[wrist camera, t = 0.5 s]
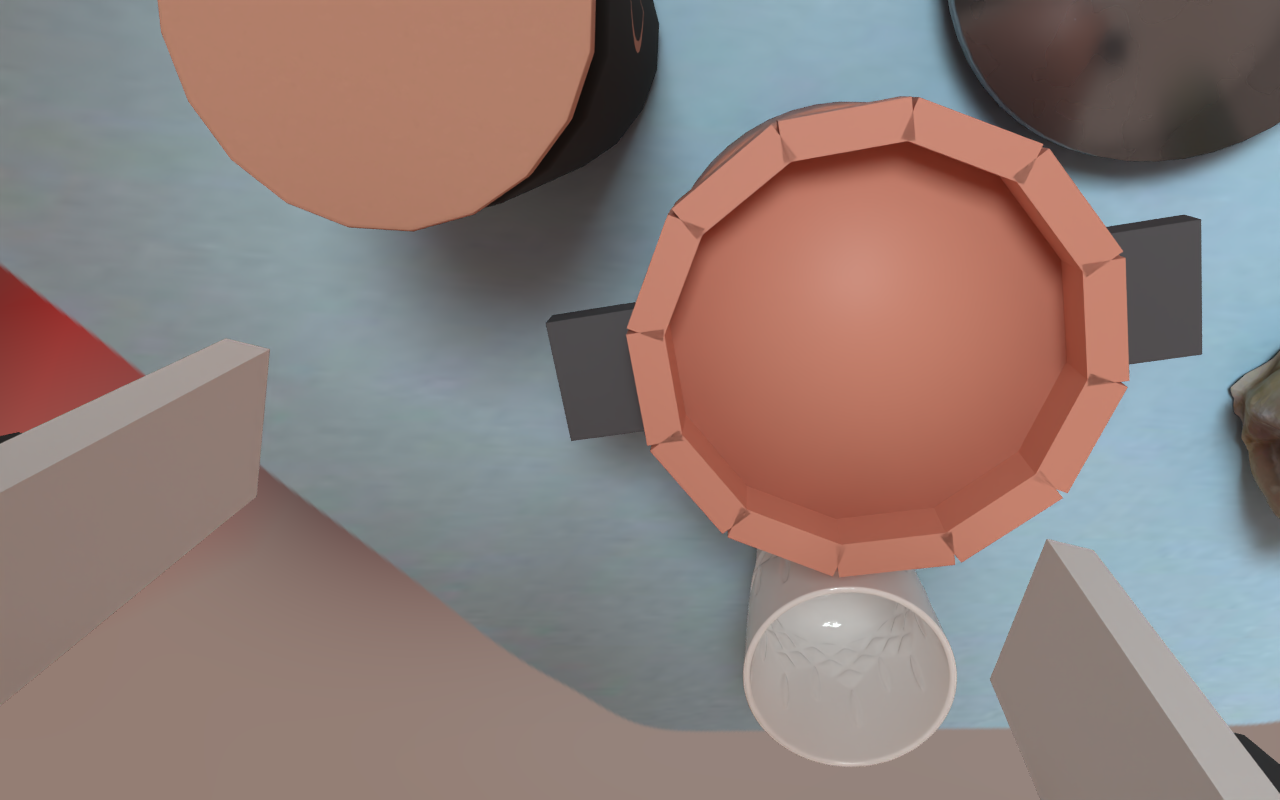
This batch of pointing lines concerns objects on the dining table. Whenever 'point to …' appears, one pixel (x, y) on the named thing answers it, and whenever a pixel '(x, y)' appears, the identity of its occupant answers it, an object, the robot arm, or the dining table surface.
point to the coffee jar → (411, 96)
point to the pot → (880, 335)
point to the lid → (1129, 71)
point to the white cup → (845, 662)
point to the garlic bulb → (1262, 426)
